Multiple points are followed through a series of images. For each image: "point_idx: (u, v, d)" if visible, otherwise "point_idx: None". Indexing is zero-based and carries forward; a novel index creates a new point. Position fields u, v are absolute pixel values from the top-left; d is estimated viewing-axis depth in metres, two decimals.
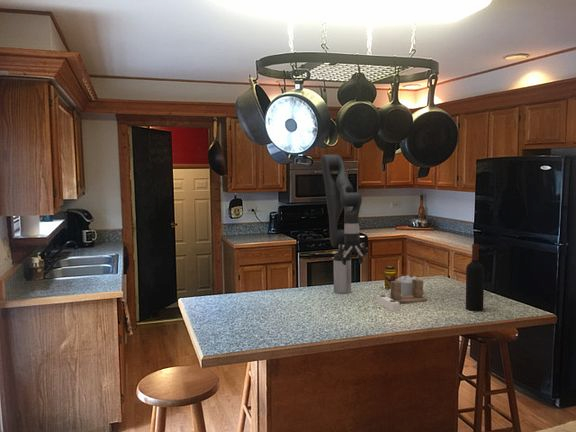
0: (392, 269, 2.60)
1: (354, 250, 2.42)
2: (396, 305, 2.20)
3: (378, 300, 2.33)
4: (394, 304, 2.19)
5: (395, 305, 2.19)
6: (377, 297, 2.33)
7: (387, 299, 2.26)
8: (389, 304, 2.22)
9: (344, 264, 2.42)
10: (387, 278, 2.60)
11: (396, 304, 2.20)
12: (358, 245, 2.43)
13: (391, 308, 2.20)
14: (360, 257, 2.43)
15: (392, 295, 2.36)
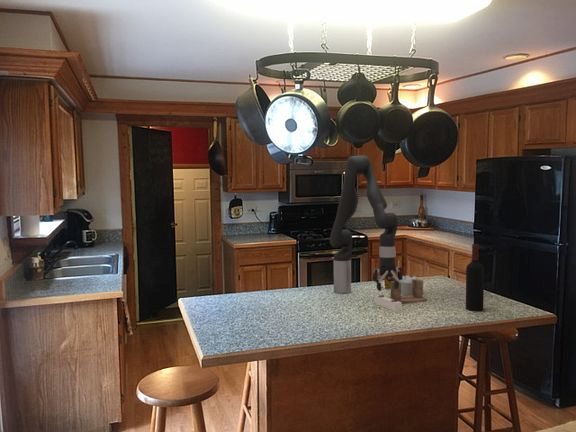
0: None
1: (390, 275, 2.25)
2: (398, 305, 2.20)
3: (377, 301, 2.32)
4: (396, 304, 2.20)
5: (397, 304, 2.20)
6: (376, 297, 2.33)
7: (387, 299, 2.26)
8: (391, 304, 2.22)
9: (379, 290, 2.24)
10: (387, 278, 2.60)
11: (398, 304, 2.20)
12: (394, 269, 2.25)
13: (393, 308, 2.21)
14: (396, 282, 2.26)
15: (392, 295, 2.36)
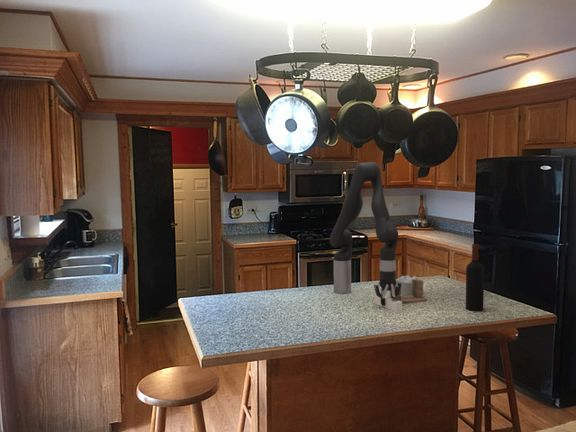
0: None
1: (388, 288, 2.26)
2: (398, 304, 2.20)
3: (376, 300, 2.32)
4: (397, 303, 2.20)
5: (398, 304, 2.20)
6: (375, 297, 2.32)
7: (387, 298, 2.26)
8: (391, 303, 2.22)
9: (383, 305, 2.26)
10: None
11: (399, 303, 2.20)
12: (394, 284, 2.26)
13: (394, 307, 2.21)
14: (392, 298, 2.27)
15: None
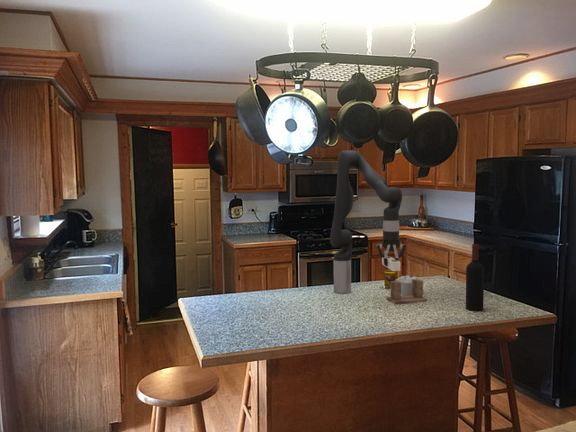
0: None
1: (391, 248, 2.26)
2: (396, 264, 2.20)
3: (383, 261, 2.33)
4: (394, 263, 2.19)
5: (395, 264, 2.20)
6: (382, 258, 2.34)
7: (390, 259, 2.27)
8: (390, 263, 2.22)
9: (385, 265, 2.27)
10: (387, 278, 2.60)
11: (397, 263, 2.20)
12: (398, 245, 2.26)
13: (392, 267, 2.21)
14: (395, 259, 2.26)
15: (392, 295, 2.36)
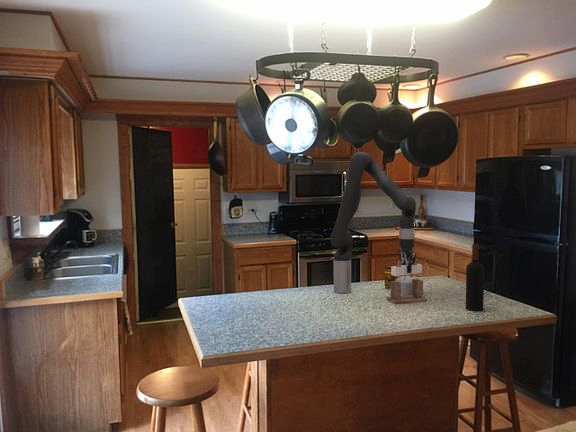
0: None
1: (404, 255, 2.36)
2: (393, 269, 2.33)
3: None
4: (392, 268, 2.34)
5: (392, 269, 2.33)
6: None
7: (404, 265, 2.36)
8: None
9: None
10: (387, 278, 2.60)
11: (393, 268, 2.33)
12: (407, 253, 2.33)
13: None
14: None
15: (392, 295, 2.36)
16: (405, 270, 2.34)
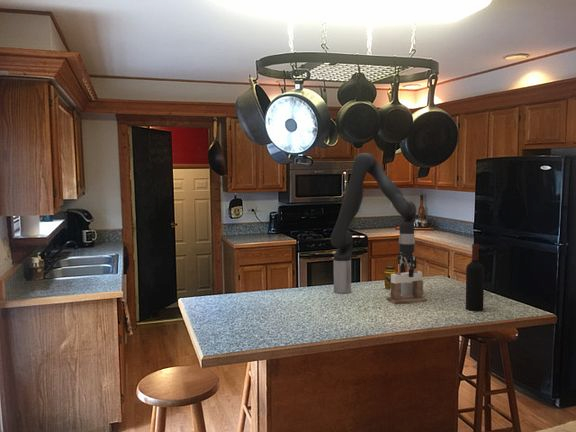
0: (392, 269, 2.60)
1: (405, 261, 2.35)
2: (392, 276, 2.34)
3: None
4: (391, 275, 2.35)
5: (392, 276, 2.34)
6: None
7: (404, 273, 2.37)
8: None
9: None
10: (387, 278, 2.60)
11: (393, 276, 2.34)
12: (407, 257, 2.33)
13: None
14: None
15: (392, 295, 2.36)
16: (405, 278, 2.34)
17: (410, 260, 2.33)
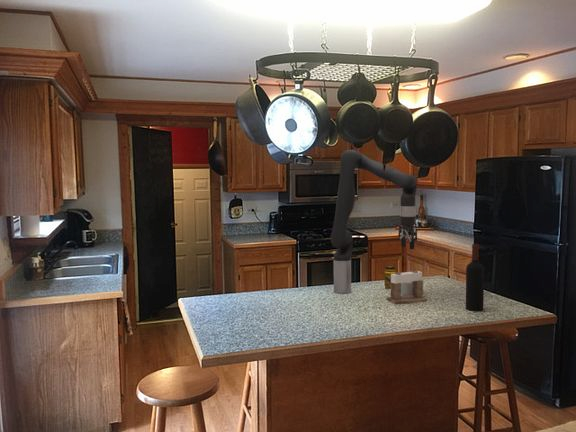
0: (392, 269, 2.60)
1: None
2: (392, 276, 2.34)
3: None
4: (391, 275, 2.35)
5: (392, 276, 2.34)
6: None
7: (404, 273, 2.37)
8: None
9: None
10: (387, 278, 2.60)
11: (393, 276, 2.34)
12: (408, 229, 2.33)
13: None
14: None
15: (392, 295, 2.36)
16: (405, 278, 2.34)
17: (411, 233, 2.34)
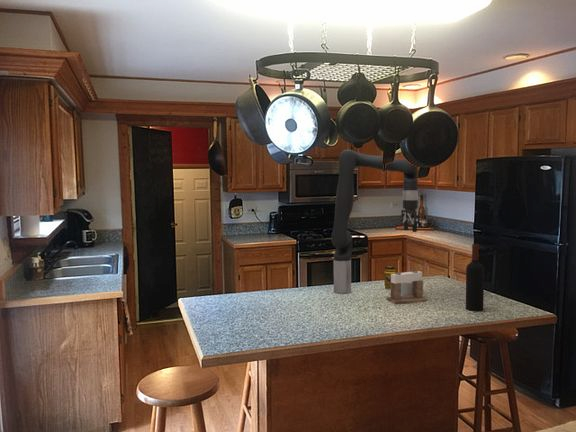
0: (392, 269, 2.60)
1: (409, 217, 2.44)
2: (392, 276, 2.34)
3: None
4: (391, 275, 2.35)
5: (392, 276, 2.34)
6: None
7: (404, 273, 2.37)
8: None
9: (404, 229, 2.50)
10: (387, 278, 2.60)
11: (393, 276, 2.34)
12: (411, 213, 2.41)
13: None
14: (412, 225, 2.41)
15: (392, 295, 2.36)
16: (405, 278, 2.34)
17: (413, 216, 2.42)
